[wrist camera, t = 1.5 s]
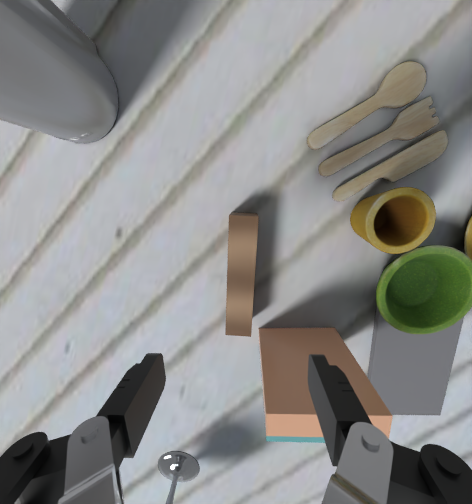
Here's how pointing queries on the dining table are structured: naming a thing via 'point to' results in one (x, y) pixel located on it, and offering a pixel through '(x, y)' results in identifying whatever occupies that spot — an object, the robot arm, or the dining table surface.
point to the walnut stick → (241, 272)
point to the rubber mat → (411, 367)
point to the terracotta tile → (296, 382)
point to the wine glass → (177, 469)
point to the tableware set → (403, 209)
